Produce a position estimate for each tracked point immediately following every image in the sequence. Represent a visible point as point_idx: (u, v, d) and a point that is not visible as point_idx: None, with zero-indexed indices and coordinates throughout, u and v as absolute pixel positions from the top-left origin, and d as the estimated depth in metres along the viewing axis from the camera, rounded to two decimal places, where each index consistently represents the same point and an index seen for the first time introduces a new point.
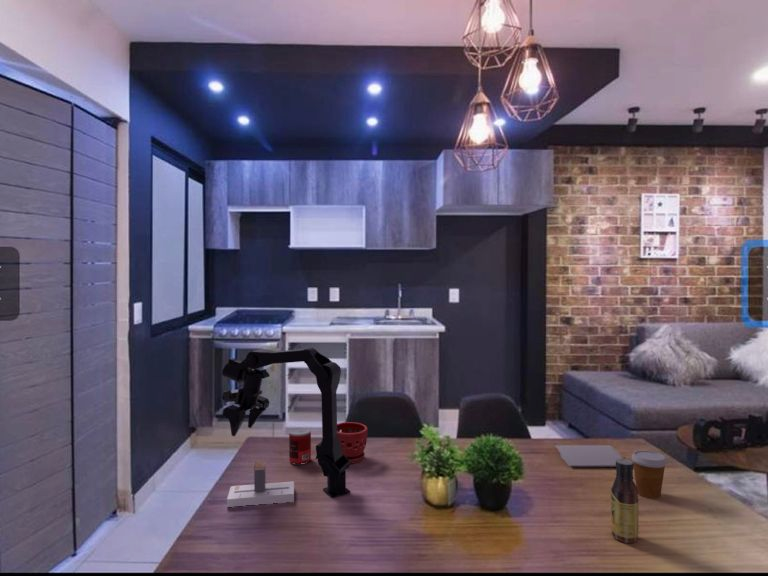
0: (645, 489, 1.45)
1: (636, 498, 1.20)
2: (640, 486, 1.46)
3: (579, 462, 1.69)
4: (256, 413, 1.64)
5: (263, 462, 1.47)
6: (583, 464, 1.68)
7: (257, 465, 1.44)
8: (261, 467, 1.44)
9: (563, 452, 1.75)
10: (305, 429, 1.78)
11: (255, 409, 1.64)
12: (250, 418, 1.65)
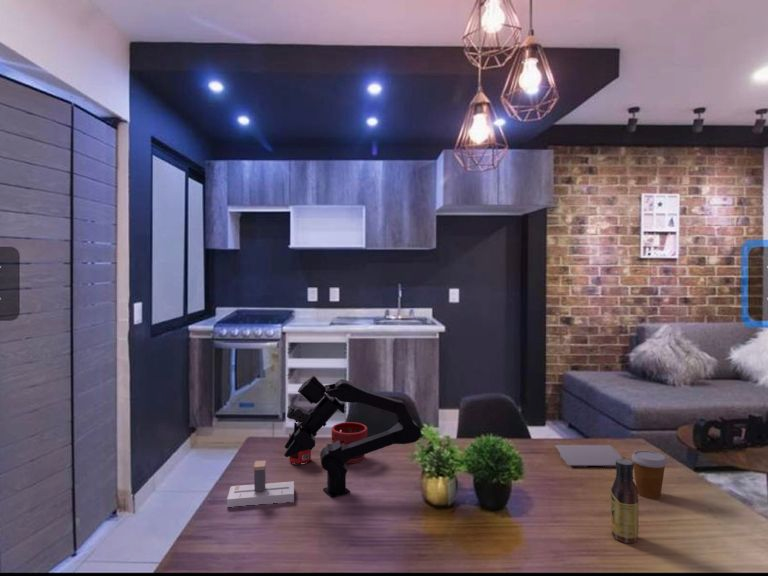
0: (645, 489, 1.45)
1: (636, 498, 1.20)
2: (640, 486, 1.46)
3: (579, 462, 1.70)
4: None
5: (263, 462, 1.47)
6: (582, 464, 1.69)
7: (257, 465, 1.44)
8: (261, 467, 1.44)
9: (563, 451, 1.76)
10: None
11: None
12: (291, 439, 1.51)
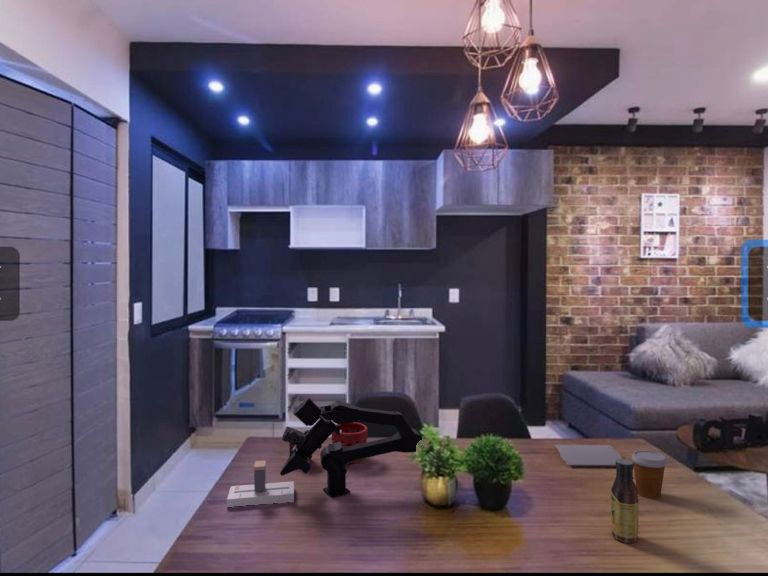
0: (645, 489, 1.45)
1: (636, 498, 1.20)
2: (640, 486, 1.46)
3: (578, 462, 1.70)
4: None
5: (263, 462, 1.47)
6: (582, 463, 1.69)
7: (257, 465, 1.44)
8: (261, 467, 1.44)
9: (562, 451, 1.76)
10: (305, 429, 1.78)
11: None
12: None
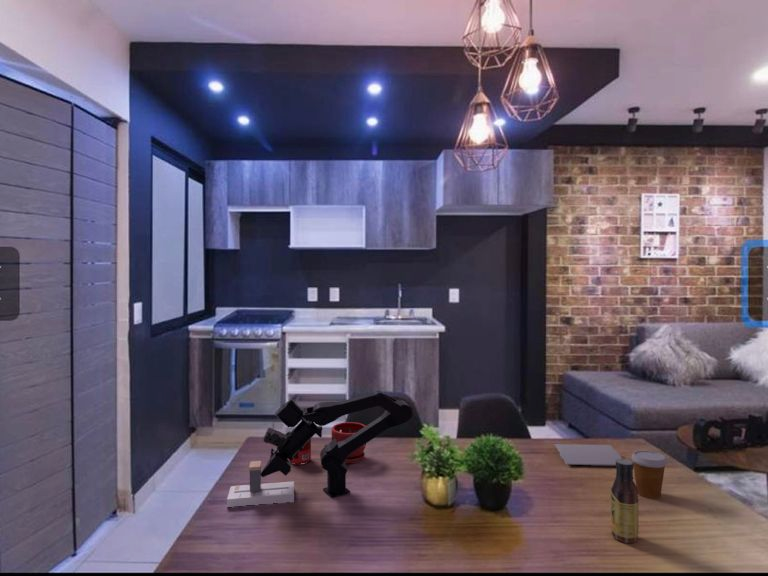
0: (645, 489, 1.45)
1: (636, 498, 1.20)
2: (640, 486, 1.46)
3: (577, 461, 1.70)
4: None
5: (258, 462, 1.47)
6: (581, 463, 1.70)
7: (253, 465, 1.44)
8: (256, 467, 1.43)
9: (562, 450, 1.77)
10: None
11: None
12: None
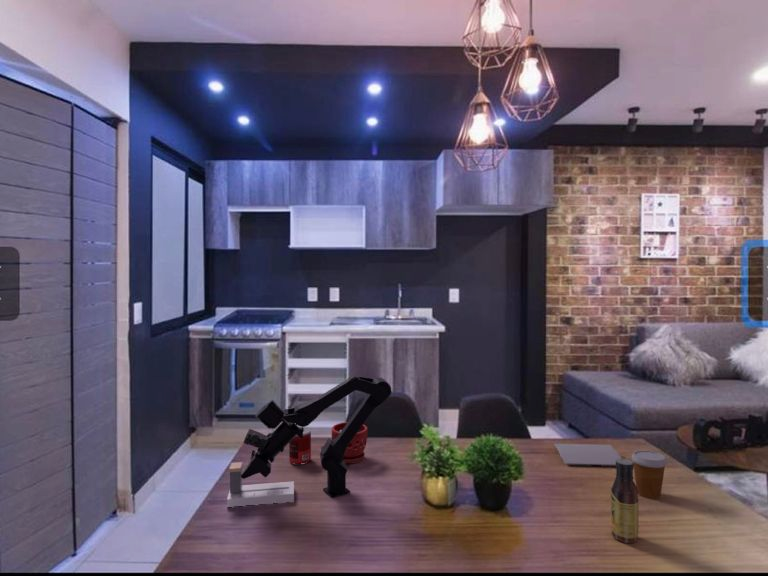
0: (645, 489, 1.45)
1: (636, 498, 1.20)
2: (640, 486, 1.46)
3: (576, 460, 1.71)
4: None
5: (239, 464, 1.46)
6: (579, 462, 1.70)
7: (233, 467, 1.43)
8: (237, 469, 1.42)
9: (561, 450, 1.77)
10: (305, 429, 1.78)
11: None
12: None
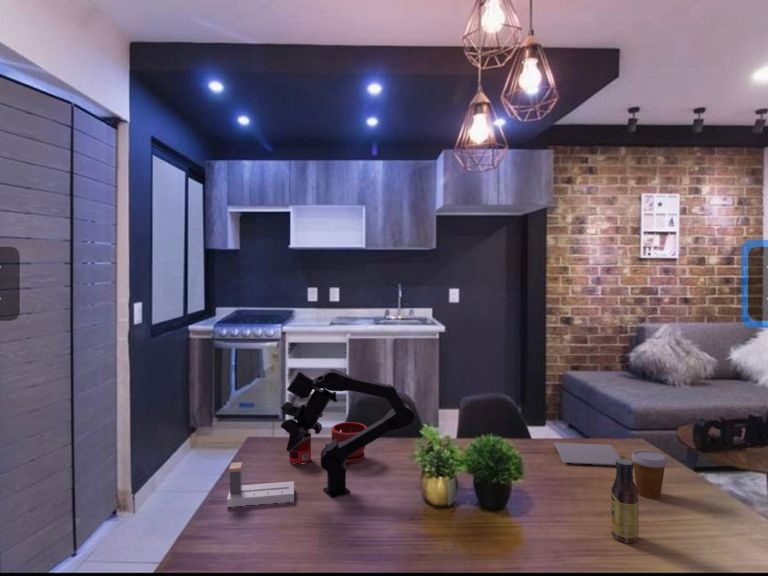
0: (645, 489, 1.45)
1: (636, 498, 1.20)
2: (640, 486, 1.46)
3: (574, 459, 1.72)
4: None
5: (239, 464, 1.46)
6: (577, 461, 1.71)
7: (233, 467, 1.43)
8: (237, 469, 1.42)
9: (560, 449, 1.78)
10: None
11: None
12: None
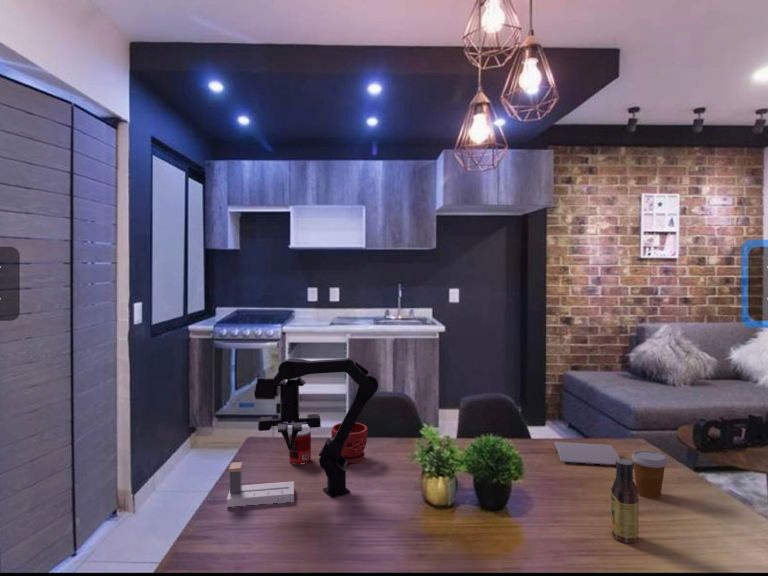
0: (645, 489, 1.45)
1: (636, 498, 1.20)
2: (640, 486, 1.46)
3: (572, 459, 1.73)
4: (291, 433, 1.49)
5: (239, 464, 1.46)
6: (576, 460, 1.72)
7: (233, 467, 1.43)
8: (237, 469, 1.42)
9: (559, 448, 1.79)
10: (305, 429, 1.78)
11: (292, 429, 1.50)
12: None
